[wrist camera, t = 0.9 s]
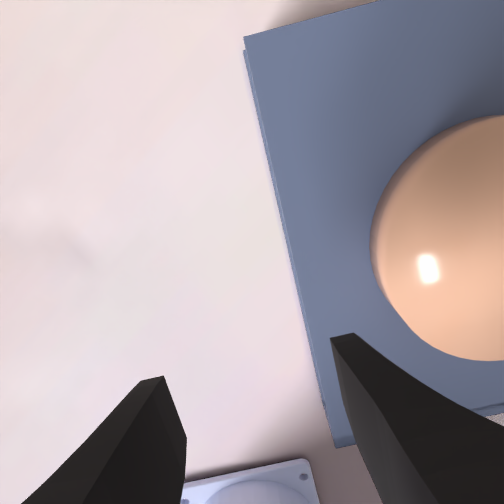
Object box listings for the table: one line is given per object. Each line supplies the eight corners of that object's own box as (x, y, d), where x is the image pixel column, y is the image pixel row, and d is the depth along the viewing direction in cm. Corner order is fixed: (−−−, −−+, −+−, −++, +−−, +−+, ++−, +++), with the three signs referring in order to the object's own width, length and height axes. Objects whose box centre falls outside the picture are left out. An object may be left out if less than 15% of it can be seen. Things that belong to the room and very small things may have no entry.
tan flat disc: (593, 307, 17) (638, 331, 15) (385, 354, 17) (402, 382, 15) (600, 86, 14) (656, 80, 12) (352, 148, 15) (369, 152, 13)
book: (562, 353, 21) (613, 389, 18) (323, 405, 22) (335, 448, 19) (564, -34, 16) (637, -69, 13) (243, 52, 16) (243, 36, 13)
